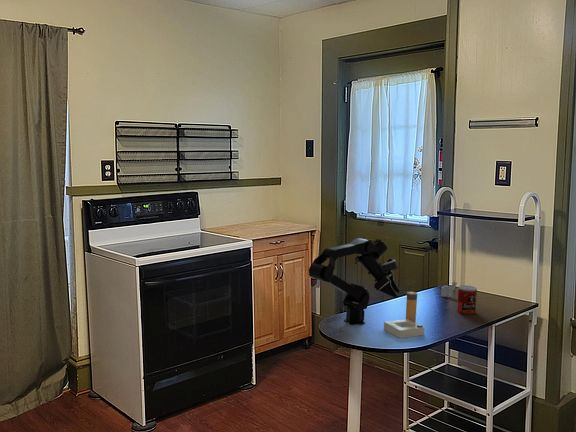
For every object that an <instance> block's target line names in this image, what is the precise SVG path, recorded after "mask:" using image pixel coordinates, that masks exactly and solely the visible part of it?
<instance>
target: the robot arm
mask: <svg viewBox="0 0 576 432" xmlns="http://www.w3.org/2000/svg"><path fill="white" fill-rule="evenodd" d="M386 252H388V246H387V245H386V243H384V242H383V241H382V240H381V239H380V238H376V239H375V240H374V241H373V243H372V241H371V240H369V239H364V238H359V237H357V238H355V239H353V240H351V242H349V243H347V244H342V245H338V246H333V247H327V248H324V250H323V251H322V253H321V254H320V255H318V256H317V257H316V258H315V259H314V260H313V261H312V263H311V265H310V266H309V268H308V276H309V277H310V278H311V279H314V280H318V281H322V282H324V283H326V284H328V285H330V286H331V287H333V288H335V289H336V290H338V291H339V292H341V293H343V294H345V297H344V299H343V301H342V305H343V307H346V309H345V310H346V311H345V314H346V315H345V318H344V319H343V321H344V322H346V323H347V324H349V325H351V326H353V325H354V326H355V325H363V324H366V321H365V310H366V309H368V306H369V301H370V298H371V297H370V292H369V291H368V288H365V287H364V286H363V285H360V284H356V283H353V282H352V283H351V282H350V283H349V282H347V281H345V280H344V279H342V277H341V278H340V277H339V276H338V275H336V274H335V269H336V261H337V260H338V259H340V258H344V257H348V256H352V255H356V256H355V257H354V265H357V264H359V263H360V264H361V266H362V267H363V268H364V269H365V270H366V271H367V274H368V275H370V276H371V277H372V279H374V284H373V285H374V289H375V290H376V291H378V292H381V293H384V294H386V295H388V296H390V297H393V298H395V299H397V298H398V297H399V296H398V294H399V293H400V292H401V290H400V289H399V287H398V285H397V283H396V282H395V280H394V276H395V275H394V271H393V270H397V269H399V265H398V262H397V260H396V259H393V258H392V257H389V258H388V259H387V261H386V262H385V263H383V262H381V261H378V260H380V258H381V257H382V256H383V255H384V254H386ZM327 260H329V262H328V264H327V265H324V264H323V263H325V262H326V261H327Z"/></svg>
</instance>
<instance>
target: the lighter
mask: <svg viewBox="0 0 576 432" xmlns="http://www.w3.org/2000/svg"><path fill="white" fill-rule="evenodd" d="M457 284H458V283H457V282H456V281H453V282H452V284H451V285H450V286H449V285H443V286H441V293H440V297H443V298H450V299H451V294H452V293H451V292H452V291H454V290H455V287H456V286H457Z"/></svg>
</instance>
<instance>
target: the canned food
mask: <svg viewBox="0 0 576 432" xmlns="http://www.w3.org/2000/svg"><path fill="white" fill-rule="evenodd" d="M477 290H478V289H477V287H475V286H472V285H466V284H465V285H464V284H463V285H459V286H458V290H457V305H456V310H457V313H459V314H461V315H474V314H475V313H476V307H477V306H476V305H477V303H476V302H477V294H478V293H477V292H478V291H477Z"/></svg>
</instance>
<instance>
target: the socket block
mask: <svg viewBox="0 0 576 432" xmlns="http://www.w3.org/2000/svg"><path fill="white" fill-rule="evenodd" d="M383 330H384V331H386V332H388V333H390V334H392V335H393V336H395V337H397V338H398V339H405V338H410V337H411V338H412V337H419V336H420V335H421V336H424V335H425V330H426V329H425V326H424V325H423V324H419V323H417V322H416V323H415V322H413V321H411V320H409V319H406V318H404V319H398V320H388V321H384V322H383Z"/></svg>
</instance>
